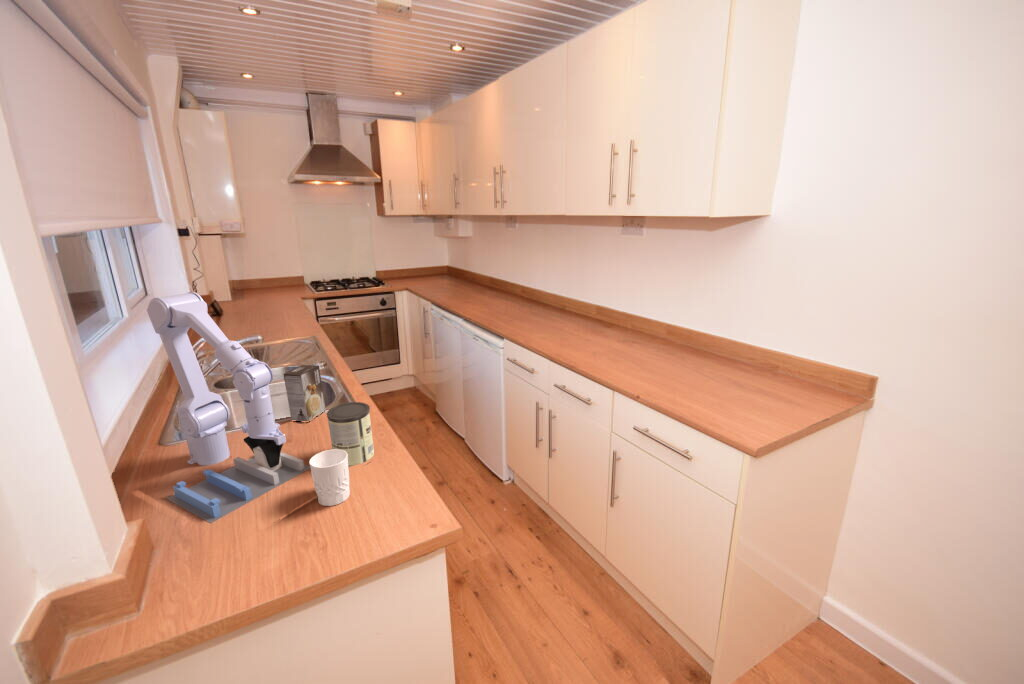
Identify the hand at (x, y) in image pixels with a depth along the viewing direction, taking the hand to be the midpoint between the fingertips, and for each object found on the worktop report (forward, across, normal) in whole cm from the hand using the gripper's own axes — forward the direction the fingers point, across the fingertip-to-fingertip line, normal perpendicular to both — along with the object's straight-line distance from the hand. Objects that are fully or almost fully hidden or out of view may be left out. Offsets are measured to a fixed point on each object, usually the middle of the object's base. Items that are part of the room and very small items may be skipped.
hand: (268, 463), depth 111 cm
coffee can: (+3, -14, -14) cm, 20 cm away
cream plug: (+1, 0, 0) cm, 1 cm away
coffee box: (+3, +20, -26) cm, 33 cm away
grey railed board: (+2, 0, +7) cm, 7 cm away
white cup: (+3, -23, 0) cm, 23 cm away
